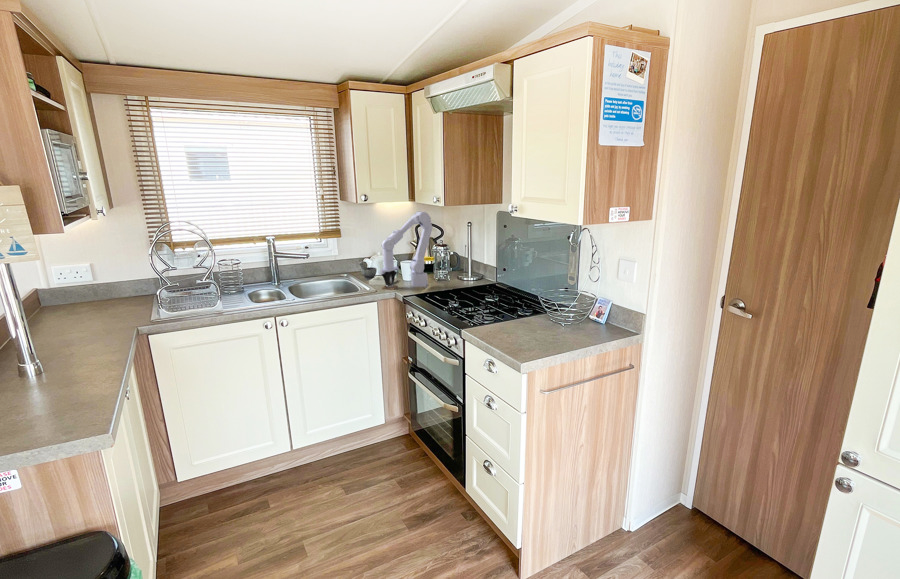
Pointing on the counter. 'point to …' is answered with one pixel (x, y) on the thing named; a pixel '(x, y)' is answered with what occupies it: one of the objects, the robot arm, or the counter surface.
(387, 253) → the robot arm
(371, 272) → the mortar and pestle
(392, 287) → the strut
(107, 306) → the counter surface
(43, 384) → the counter surface
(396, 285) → the stud block
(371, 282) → the bin
